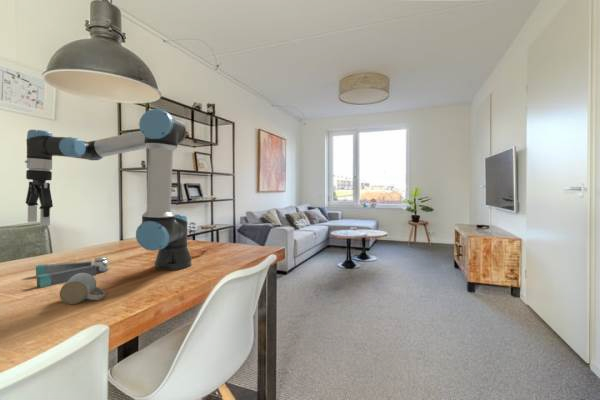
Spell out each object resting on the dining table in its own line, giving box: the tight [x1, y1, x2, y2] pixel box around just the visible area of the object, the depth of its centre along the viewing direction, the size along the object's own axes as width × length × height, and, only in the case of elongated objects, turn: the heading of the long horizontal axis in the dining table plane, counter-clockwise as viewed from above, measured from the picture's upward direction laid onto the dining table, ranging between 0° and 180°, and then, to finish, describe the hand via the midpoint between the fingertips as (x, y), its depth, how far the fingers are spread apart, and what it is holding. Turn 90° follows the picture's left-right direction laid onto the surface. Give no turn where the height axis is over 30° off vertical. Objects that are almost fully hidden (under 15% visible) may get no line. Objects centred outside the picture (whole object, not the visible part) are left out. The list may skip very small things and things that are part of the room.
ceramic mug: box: [59, 273, 106, 305], centre depth 90 cm, size 11×8×8 cm
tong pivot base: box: [36, 258, 109, 289], centre depth 112 cm, size 24×6×4 cm, turn 151°
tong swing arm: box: [35, 256, 107, 277], centre depth 117 cm, size 23×6×5 cm, turn 116°
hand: (38, 223), depth 115 cm, fingers open, 13 cm apart
